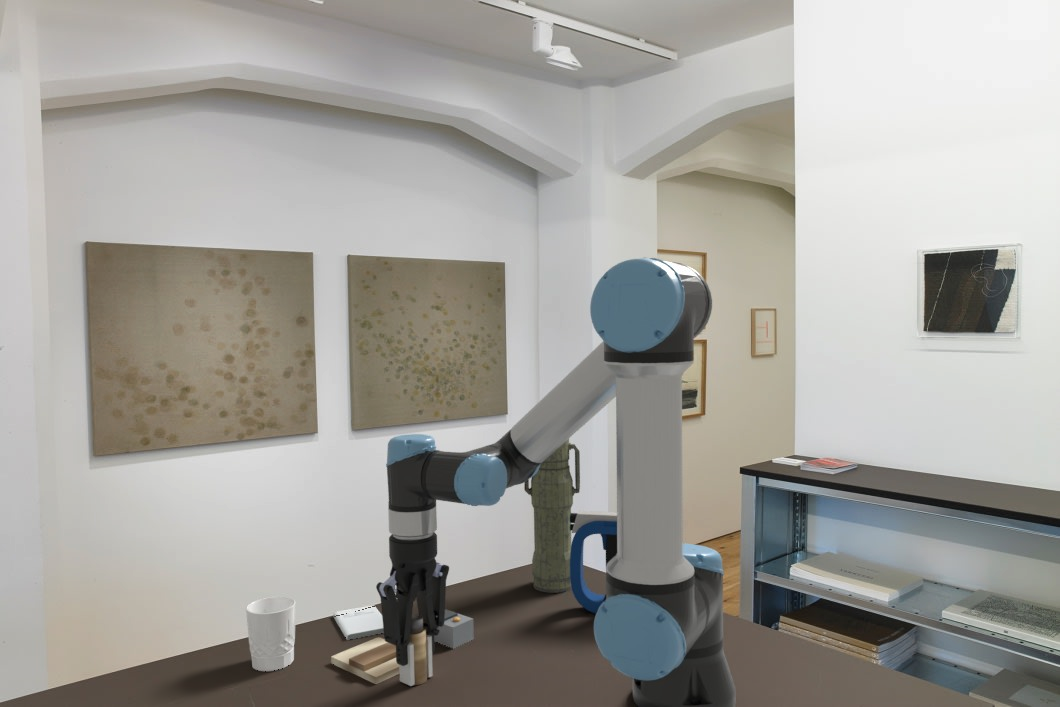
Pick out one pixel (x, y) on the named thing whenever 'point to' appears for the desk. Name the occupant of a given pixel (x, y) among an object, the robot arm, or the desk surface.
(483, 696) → the desk surface
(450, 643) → the box
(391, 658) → the panel
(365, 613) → the external hard drive
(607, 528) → the handheld scanner
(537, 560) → the thermos
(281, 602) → the white cup
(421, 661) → the peg
